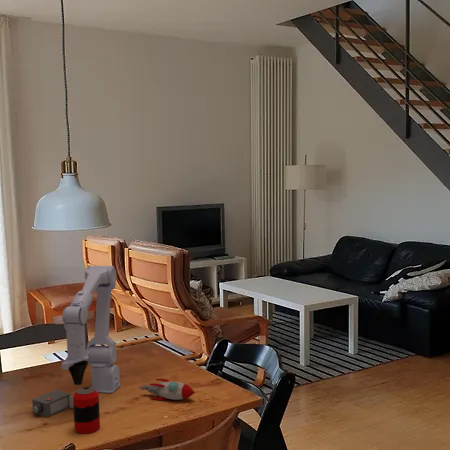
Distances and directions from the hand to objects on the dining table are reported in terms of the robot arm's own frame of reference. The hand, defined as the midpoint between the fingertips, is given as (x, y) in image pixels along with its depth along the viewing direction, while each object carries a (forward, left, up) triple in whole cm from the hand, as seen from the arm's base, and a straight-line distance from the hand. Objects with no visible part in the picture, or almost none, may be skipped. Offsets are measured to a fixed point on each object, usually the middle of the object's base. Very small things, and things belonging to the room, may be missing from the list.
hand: (78, 384), depth 201 cm
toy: (-24, -17, -10) cm, 31 cm away
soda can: (-8, +11, -10) cm, 17 cm away
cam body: (+10, 0, -9) cm, 13 cm away
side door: (0, -3, -9) cm, 9 cm away
